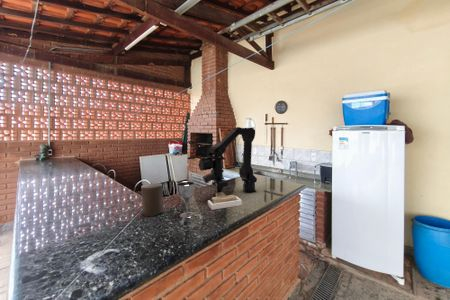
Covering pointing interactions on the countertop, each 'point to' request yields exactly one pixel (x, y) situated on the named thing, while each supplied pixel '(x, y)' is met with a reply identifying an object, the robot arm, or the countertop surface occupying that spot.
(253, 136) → the robot arm
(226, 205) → the bracket
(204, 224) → the countertop surface
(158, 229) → the countertop surface
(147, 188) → the pillar candle
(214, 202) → the t block
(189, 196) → the wine glass
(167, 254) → the countertop surface
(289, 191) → the countertop surface
